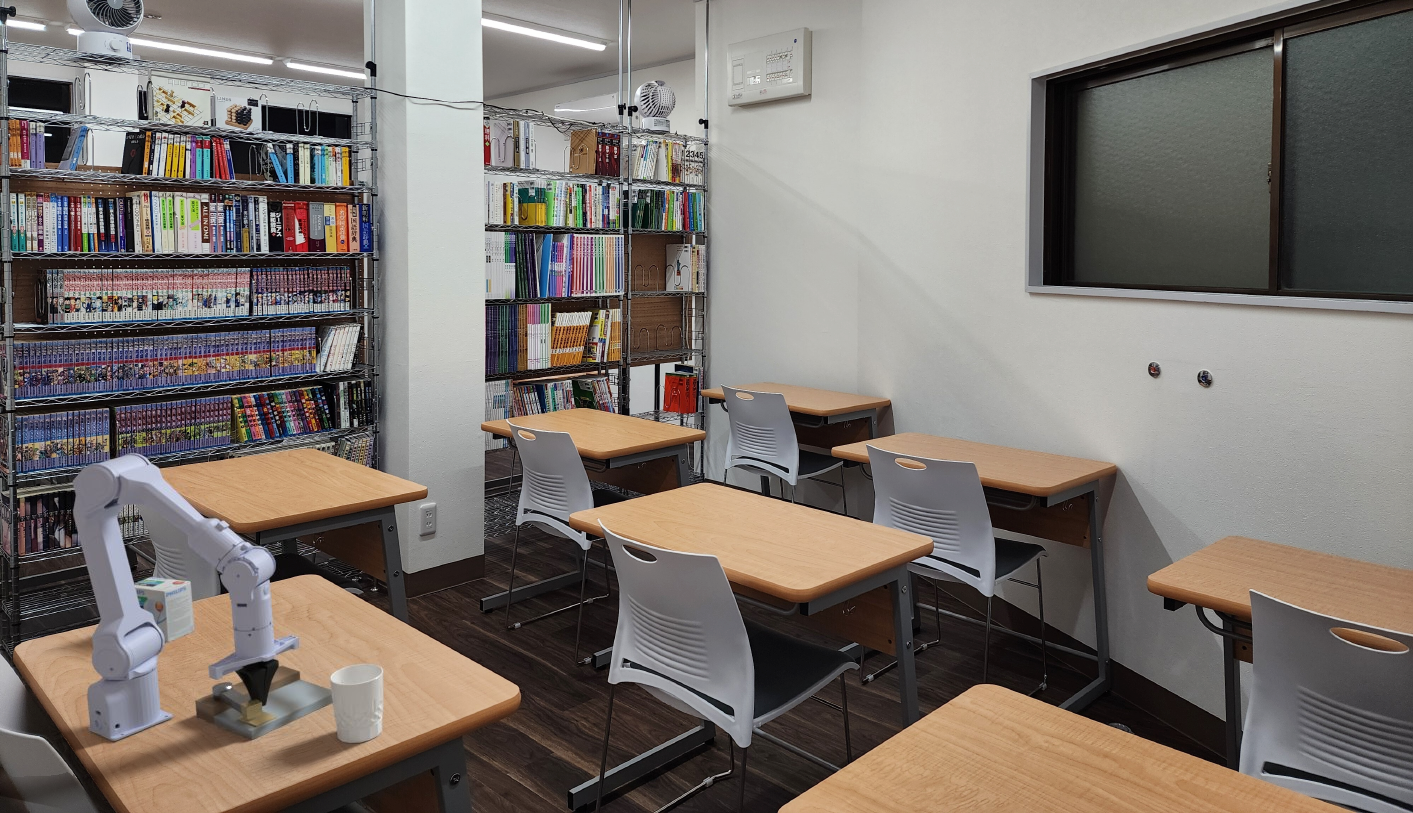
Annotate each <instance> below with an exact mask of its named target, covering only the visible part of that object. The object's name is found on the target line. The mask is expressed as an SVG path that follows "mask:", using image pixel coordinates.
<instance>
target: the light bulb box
mask: <svg viewBox="0 0 1413 813" xmlns="http://www.w3.org/2000/svg"><path fill="white" fill-rule="evenodd" d="M191 584H192V583H191V581H190V580H180V579H173V578H172V579H171V578H162V577H154V576H151V577H147V578H145V579H142V580H139V581H137V582H134V586H135V589H136V593H137V597H138V601H139V605H140V608H142V609H144V610H146V611H148V612H150V613H152V614H153V617H154V621H155V623H156V624H157V626H158V627H159V628H160V629H161V631H162V632H163V635H164V638H165V643H171V642H172V641H175V640H177V639H180V638H181V637H184V636H187V635H188V634H191V633H193V632H195V624H194V623H195V621H194V609H193V598H192V596H193V595H192V585H191Z"/></svg>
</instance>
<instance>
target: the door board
mask: <svg viewBox="0 0 1413 813" xmlns="http://www.w3.org/2000/svg"><path fill="white" fill-rule="evenodd" d="M233 689H235V690H236V691H238V692H240V693H241V694H243V695H245V696H246V697H248V698H249V699H251V698H250V695H249V693H248V690H247V688H246V686H245V685H244V683H243V681H242V680H241V681H239V682H238V683H235V684H233ZM194 702H195V713H196V718H197V719H199V720H201V721H204V722H207V723H209V724H212V725H215V726H217V727H220V728H222V729H225V730H228V731H229V732H232V733H233V734H234V733H235V734H237V735H240V736H242V737H245V738H247V739H249V740H252V741H253V740H255V739H257V738H259V737H261V736H264V735H265V734H268V733H270V732H273V731H275V730H277V729H279V728H281V727H284V726H285V725H288V724H289V723H292V722H294V721H297V720H298V719H301V718H303V717H305V716H307V715H309V714H311V713H314V712H316V711H318V710H319V709H322V708H325V707H327V706H329V705H331V704H333V701H332V692H331V688H327V687H324V686H322V685H317V684H315V683H312V682H310V681H306V680H303V679H301V671H299V670H296V669H293V668H290V667H287V666H284V665H279V667H278V669H277V671H276V673H275V675H274V677H273V679H272V682H271V685H270V689H269V693H268V698H267V703H266V705H265V706H263V707H262V712H263V714H261V715H259V716H256V717H253V718H250V719H248V720H247V719H246V718H244V717H243V716H242V714H241V713H239V712H238V711H236V710H235V709H233V708H232V707H230V706H229V705H227V704H226V703H224V702H223V701H221V700H214V699H213V692H212V693H209V694H207V695H205V696H203V697H201V698H198V699H196V700H195V701H194Z"/></svg>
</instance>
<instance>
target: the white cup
mask: <svg viewBox="0 0 1413 813" xmlns="http://www.w3.org/2000/svg"><path fill="white" fill-rule="evenodd" d="M329 681H330V690H331V692H332V701H333V703H332V708H333V713H334V714H333V715H334V721H335V723H336V733H337V739H338V740H340V741H341V742H343V743H345V744H346V743H347V744H357V743H358V744H360V743H363V742H364V743H365V742H367V741H371V740H373V739H374V738H377V737H379V735H381V733H382V732H383V715H384V669H383V668H382V666H379V665H377V664H372V663H359V664H354V665H353V664H351V665H348V666H344V667H342V668H340V669H337V670H336V671H334V672H332V674H331V675H330V677H329Z"/></svg>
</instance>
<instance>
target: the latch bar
mask: <svg viewBox="0 0 1413 813" xmlns="http://www.w3.org/2000/svg"><path fill="white" fill-rule="evenodd" d="M233 685H234V684H233V683H232V682H230V681H229V682H228V681H225V682H220V683H216V684H214V685H213V686H212V689H211V690H212V691H211V692H212V693H213V699H214V700H221V701H223V702H224V703H226V704H227V705H229V706H230V707H232V708H233V709H235V710H236V711H238V712H239V713H241V714H242V716H243V717H244V718H246V719H247V720H248V719H250V718H253V717H256V716H259V715H261V714H263V712H262V702H261V701H259V700H257V699H253V700H251V699H249V698H248V697H246V696H245V695H243V694H241V693H240V692H238V691H236V690H235V689H233Z"/></svg>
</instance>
